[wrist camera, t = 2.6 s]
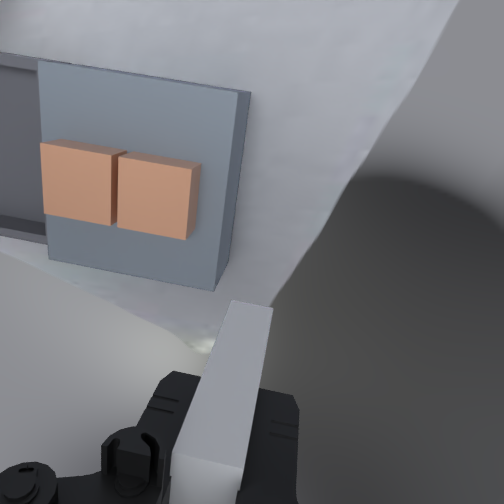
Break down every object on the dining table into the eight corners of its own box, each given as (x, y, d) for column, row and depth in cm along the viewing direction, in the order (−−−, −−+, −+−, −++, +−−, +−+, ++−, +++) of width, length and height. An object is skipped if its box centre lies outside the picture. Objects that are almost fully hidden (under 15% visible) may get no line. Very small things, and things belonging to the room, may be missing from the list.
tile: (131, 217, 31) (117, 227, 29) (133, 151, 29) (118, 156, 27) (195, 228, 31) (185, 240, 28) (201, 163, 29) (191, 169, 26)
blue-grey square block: (85, 235, 39) (48, 259, 33) (83, 65, 33) (37, 60, 28) (227, 262, 38) (213, 291, 32) (250, 91, 32) (238, 92, 27)
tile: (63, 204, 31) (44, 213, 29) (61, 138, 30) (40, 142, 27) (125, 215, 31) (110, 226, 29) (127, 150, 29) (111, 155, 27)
